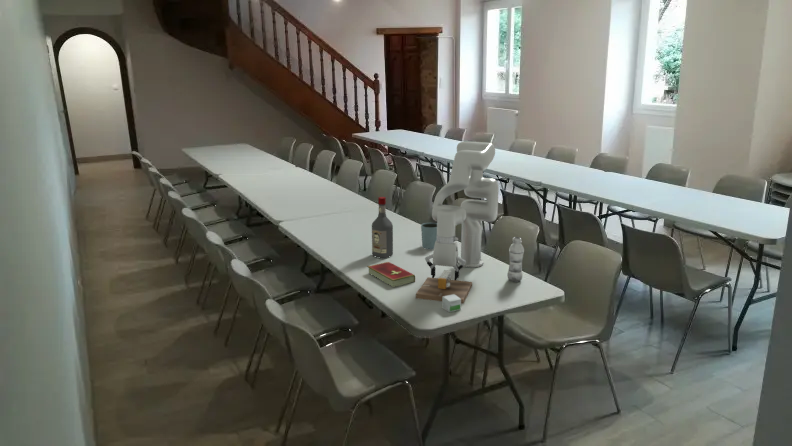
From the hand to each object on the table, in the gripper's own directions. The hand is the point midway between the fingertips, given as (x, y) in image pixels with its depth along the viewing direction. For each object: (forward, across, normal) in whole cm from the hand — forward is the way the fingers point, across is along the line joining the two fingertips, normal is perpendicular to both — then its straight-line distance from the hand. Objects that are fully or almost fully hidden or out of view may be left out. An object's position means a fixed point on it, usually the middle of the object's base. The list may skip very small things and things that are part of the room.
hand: (444, 278), depth 247 cm
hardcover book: (+7, +27, -10) cm, 30 cm away
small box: (+7, -6, +15) cm, 18 cm away
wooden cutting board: (+6, 0, 0) cm, 7 cm away
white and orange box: (+4, 0, 0) cm, 4 cm away
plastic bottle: (+6, -27, -22) cm, 36 cm away
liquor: (+6, +41, -38) cm, 56 cm away
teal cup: (+6, +21, -60) cm, 63 cm away
